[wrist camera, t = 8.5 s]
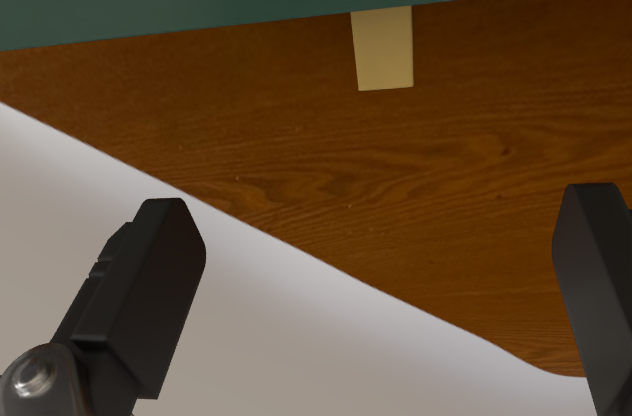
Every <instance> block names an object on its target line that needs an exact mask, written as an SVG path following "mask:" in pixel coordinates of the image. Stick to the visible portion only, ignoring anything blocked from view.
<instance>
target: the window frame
mask: <svg viewBox="0 0 632 416" xmlns="http://www.w3.org/2000/svg"><path fill="white" fill-rule="evenodd" d="M446 1H455V0H0V51H8V50H17V49H26V48H35V47H44V46H53V45H62V44H71V43H80V42H88V41H97V40H106V39H115V38H124V37H133V36H142V35H151V34H160V33H169V32H178V31H187V30H196V29H205V28H214V27H223V26H232V25H241V24H249V23H258V22H267V21H276V20H285V19H294V18H303V17H312V16H321V15H330V14H339V13H348V12H357V11H366V10H375V9H384V8H393V7H402V6H411V5H419V4H428V3H437V2H446Z"/></svg>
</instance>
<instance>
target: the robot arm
mask: <svg viewBox="0 0 632 416" xmlns="http://www.w3.org/2000/svg"><path fill="white" fill-rule="evenodd" d="M552 258H553V264H554V268H555V272H556V275H557V279H558V282H559V286H560V289H561V293H562V296H563V299H564V303H565V306H566V310H567V313H568V316H569V320H570V323H571V327H572V330H573V334H574V337H575V340H576V344H577V347H578V351H579V354H580V358H581V361H582V364H583V368H584V371H585V375H586V378H587V381H588V385H589V388H590V391H591V395H592V398H593V402H594V405H595V409H596V412H597V416H632V209H629V210H628V208H627V206H626V204H625V201H624V199H623V197H622V195H621V193H620V191H619V189H618V187H617V186H616V185H615V184H614V183H585V184H569V185H568V186H567V187H566V189H565V192H564V196H563V200H562V204H561V208H560V211H559V215H558V219H557V223H556V227H555V231H554V235H553V240H552ZM205 263H206V248H205V244H204V241H203V239H202V237H201V235H200V233H199V231H198V228H197V226H196V224H195V222H194V220H193V218H192V216H191V214H190V212H189V210H188V208H187V205H186V203H185V202H184V201H183V200H182V199H181V198H157V199H147V200H145V201H144V202H143V203H142V205H141V207H140V209H139V210H138V212H137V214H136V216H135V218H134V220H133V222H126V223H125V224H124V225H123V226H122V227H121V228H120V229H119V230H118V231H117V232H116V233H115V234H113V236H111V237H110V238H109V239H108V241H107V243H106V245H105V246H104V248H103V250H102V252H101V254H100V255H99V257H98V262H96V263H95V264H94V266H93V267H92V269H91V271H90V273H89V278H86V280H85V282H84V283H83V285H82V287H81V289H80V290H79V292H78V294H77V296H76V297H75V299H74V301H73V303H72V305H71V306H70V308H69V310H68V312H67V313H66V315H65V317H64V319H63V320H62V322H61V324H60V325H59V327H58V329H57V331H56V332H55V334H54V336H53V338H52V339H51V341H50V342H49V343H46V344H42V345H39V346H36V347H34V348H32V349H30V350H28V351H27V352H25V353H23V354H22V355H21V356H19V357H18V358H17V359H16V360H15V361H13V362H12V364H11V365H10V366H9V367H8V368H7V369H6V371H5V372H4V373H3V375H0V416H134V415H133V414H132V410H133V408H134V405H135V403H136V400H137V399H156V400H157V399H158V396H159V393H160V391H161V388H162V385H163V382H164V379H165V377H166V374H167V371H168V368H169V366H170V363H171V360H172V357H173V354H174V352H175V349H176V346H177V343H178V341H179V338H180V335H181V332H182V329H183V327H184V324H185V321H186V318H187V315H188V313H189V310H190V307H191V304H192V301H193V299H194V296H195V293H196V290H197V287H198V285H199V282H200V279H201V277H202V274H203V271H204V268H205Z"/></svg>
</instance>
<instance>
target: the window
mask: <svg viewBox="0 0 632 416" xmlns="http://www.w3.org/2000/svg"><path fill="white" fill-rule="evenodd" d="M350 14H351V23H352V32H353V41H354V50H355V59H356V68H357V77H358V86H359V91H366V90H379V89H391V88H404V87H413V85H414V82H413V37H412V5H411V6H402V7H393V8H384V9H375V10H366V11H357V12H350Z"/></svg>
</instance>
